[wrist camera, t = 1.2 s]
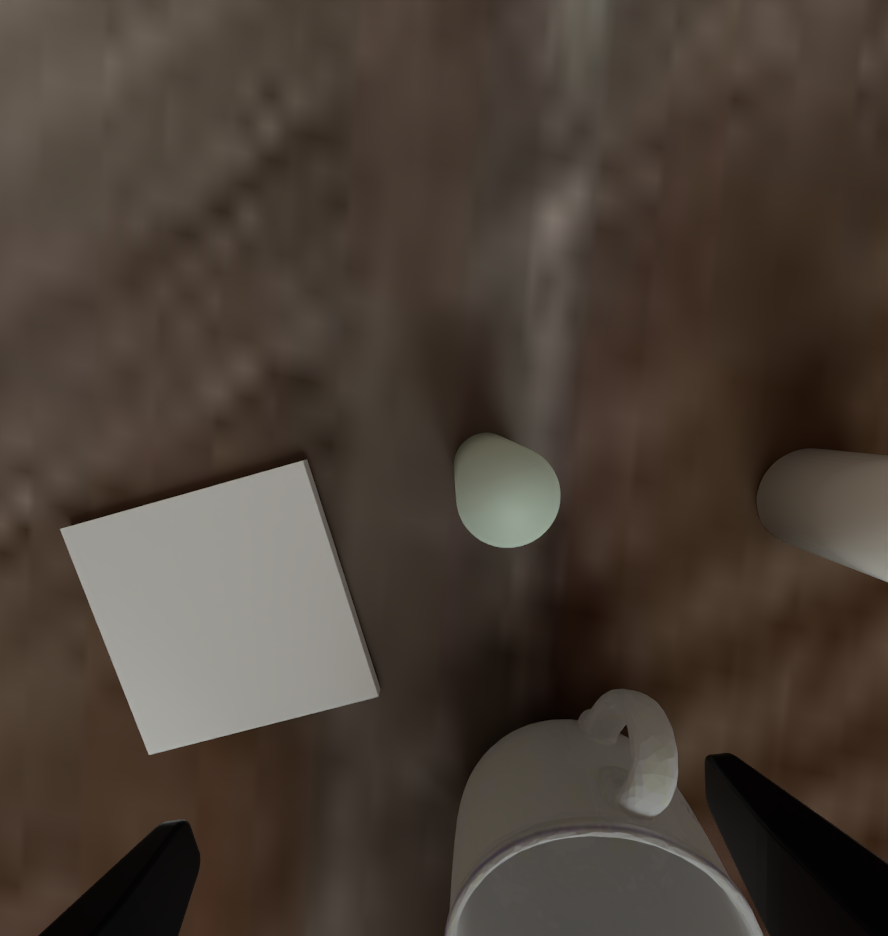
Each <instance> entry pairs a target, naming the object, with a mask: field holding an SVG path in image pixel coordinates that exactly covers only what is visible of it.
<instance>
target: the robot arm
mask: <svg viewBox="0 0 888 936" xmlns="http://www.w3.org/2000/svg"><path fill="white" fill-rule="evenodd" d="M705 794H706V800H707V803H708V806H709V809H710V811H711V814H712V816H713V818H714V820H715V822H716V824H717V826H718V828H719V831H720V833H721V835H722V837H723V839H724V841H725V843H726V845H727V848H728V850H729V852H730V854H731V856H732V858H733V860H734V862H735V865H736V867H737V869H738V871H739V873H740V875H741V877H742V879H743V882H744V884H745V886H746V888H747V890H748V892H749V894H750V896H751V899H752V901H753V903H754V905H755V907H756V909H757V911H758V913H759V915H760V917H761V919H762V921H763V923H764V925H765V928H766V929H767V931H768V933H769V935H770V936H888V863H887V862H885V861H884V860H882V859H881V858H880V857H878V856H877V855H875V854H874V853H873V852H871V851H870V850H868V849H867V848H865V847H864V846H863V845H861V844H860V843H858V842H857V841H856V840H854V839H853V838H851V837H850V836H848V835H847V834H846V833H844V832H843V831H841V830H840V829H839V828H837V827H836V826H834V825H833V824H831V823H830V822H829V821H827V820H826V819H824V818H823V817H822V816H820V815H819V814H817V813H816V812H814V811H813V810H812V809H810V808H809V807H807V806H806V805H805V804H803V803H802V802H800V801H799V800H797V799H796V798H795V797H793V796H792V795H790V794H789V793H788V792H786V791H785V790H783V789H782V788H780V787H779V786H778V785H776V784H775V783H773V782H772V781H771V780H769V779H768V778H766V777H765V776H763V775H762V774H761V773H759V772H758V771H756V770H755V769H753V768H752V767H751V766H749V765H748V764H746V763H745V762H744V761H742V760H741V759H739V758H738V757H736V756H735V755H733V754H730V753H722V754H714V755H708V756H707V757H706V758H705ZM199 867H200V853H199V849H198V847H197V844H196V841H195V838H194V835H193V832H192V829H191V826H190V824H189V822H188V821H186V820H183V819H182V820H174V821H167V822H163V823H161V824H160V825H158V826H157V827H156V828H155V829H154V830H153V831H152V832H150V833H149V834H148V835H147V836H146V837H145V838H144V839H143V840H142V841H141V842H140V843H138V844H137V845H136V846H135V847H134V848H133V849H132V850H131V851H130V852H129V853H128V854H127V855H125V856H124V857H123V858H122V859H121V860H120V861H119V862H118V863H117V864H116V865H115V866H113V867H112V868H111V869H110V870H109V871H108V872H107V873H106V874H105V875H104V876H103V877H102V878H100V879H99V880H98V881H97V882H96V883H95V884H94V885H93V886H92V887H91V888H90V889H88V890H87V891H86V892H85V893H84V894H83V895H82V896H81V897H80V898H79V899H78V900H77V901H75V902H74V903H73V904H72V905H71V906H70V907H69V908H68V909H67V910H66V911H65V912H63V913H62V914H61V915H60V916H59V917H58V918H57V919H56V920H55V921H54V922H53V923H52V924H50V925H49V926H48V927H47V928H46V929H45V930H44V931H43V932H42V933H41V934H40V935H39V936H178V934H179V931H180V928H181V925H182V922H183V919H184V916H185V913H186V910H187V906H188V903H189V900H190V897H191V894H192V891H193V888H194V885H195V882H196V878H197V875H198V872H199Z"/></svg>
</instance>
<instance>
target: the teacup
mask: <svg viewBox="0 0 888 936" xmlns="http://www.w3.org/2000/svg"><path fill="white" fill-rule="evenodd" d="M625 725H627V728H628V735H629V738H627V737H625V736H624V735H622V734H620V732H621V730H622V729H623V728H624V727H625ZM677 777H678V752H677V747H676V743H675V738H674V734H673V729H672V727H671V725H670V723H669V720H668V718H667V716H666V714H665V712H664V711H663V709H662V708H661V707H660V706H659V704H658V703H657V702H656V701H655V700H653V699H652V698H650V697H649V696H647V695H646V694H643V693H641V692H638V691H634V690H627V689H614V690H610V691H608V692H607V693H605V694H603V695H602V696H601V697H600V698H599V699H598V700H597V701H596V703H595V704H594V705H593V707H592V708H591V709H588V710H585V711H584V712H583V713H582V714H581V715H580V717H579V719H578V720H573V719H560V720H547V721H542V722H537V723H533V724H529V725H526V726H524V727H522V728H519V729H517V730H515V731H513V732H511V733H509V734H508V735H506V736H505V737H503V738H502V739H500V740H499V741H498V742H497V743H496V744H494V745H493V746H492V747H491V748H490V749H489V750H488V751H487V752H486V753H485V754H484V755H483V757H482V758H481V759H480V761H479V762H478V763H477V765H476V766H475V768H474V770H473V772H472V773H471V775H470V777H469V779H468V782H467V784H466V786H465V789H464V793H463V796H462V799H461V802H460V807H459V812H458V817H457V826H456V834H455V842H454V854H453V866H452V879H451V896H450V911H449V914H448V918H447V923H446V927H445V935H444V936H763V934H762V931H761V929H760V927H759V925H758V923H757V920H756V918H755V916H754V914H753V911H752V910H751V908H750V906H749V904H748V902H747V901H746V899H745V898H744V896H743V895H742V893H741V892H740V890H739V889H738V888H737V887H736V885H735V884H734V883H733V882H732V881H731V879H730V878H729V876H728V874H727V873H726V871H725V869H724V867H723V865H722V863H721V861H720V859H719V858H718V856H717V854H716V852H715V850H714V848H713V847H712V845H711V843H710V841H709V839H708V838H707V836H706V834H705V832H704V830H703V829H702V827H701V825H700V824H699V822H698V820H697V818H696V817H695V815H694V813H693V812H692V810H691V808H690V807H689V805H688V803H687V802H686V800H685V799H684V797H683V795H682V794H681V792H680V791H679V789H678V788H677V786H676V784H677Z"/></svg>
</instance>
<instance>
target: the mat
mask: <svg viewBox="0 0 888 936" xmlns="http://www.w3.org/2000/svg"><path fill="white" fill-rule="evenodd" d="M60 531H61V533H62V536H63V538H64V541H65V543H66V546H67V548H68V551H69V553H70V556H71V558H72V561H73V564H74V566H75V569H76V571H77V574H78V576H79V579H80V581H81V584H82V586H83V589H84V591H85V594H86V597H87V599H88V602H89V604H90V607H91V609H92V612H93V614H94V617H95V619H96V622H97V624H98V627H99V630H100V632H101V635H102V637H103V640H104V642H105V645H106V647H107V650H108V652H109V655H110V657H111V660H112V663H113V665H114V668H115V670H116V673H117V675H118V678H119V680H120V683H121V685H122V688H123V690H124V693H125V696H126V698H127V701H128V703H129V706H130V708H131V711H132V713H133V716H134V718H135V721H136V723H137V726H138V728H139V731H140V734H141V736H142V739H143V741H144V744H145V746H146V749H147V751H148V754H149V755H151V754H155V753H159V752H163V751H167V750H171V749H174V748H178V747H182V746H186V745H190V744H194V743H198V742H202V741H206V740H210V739H214V738H218V737H222V736H226V735H230V734H234V733H238V732H242V731H246V730H249V729H253V728H257V727H261V726H265V725H269V724H273V723H277V722H281V721H285V720H289V719H293V718H297V717H301V716H305V715H309V714H313V713H317V712H320V711H324V710H328V709H332V708H336V707H340V706H344V705H348V704H352V703H356V702H360V701H364V700H368V699H372V698H376V697H379V693H380V686H379V683H378V680H377V677H376V674H375V670H374V667H373V664H372V661H371V658H370V655H369V652H368V649H367V645H366V642H365V639H364V636H363V633H362V630H361V627H360V623H359V620H358V617H357V614H356V611H355V608H354V605H353V602H352V598H351V595H350V592H349V589H348V586H347V583H346V580H345V576H344V573H343V570H342V567H341V564H340V561H339V558H338V555H337V551H336V548H335V545H334V542H333V539H332V536H331V533H330V529H329V526H328V523H327V520H326V517H325V514H324V511H323V508H322V504H321V501H320V498H319V495H318V492H317V489H316V486H315V483H314V479H313V476H312V473H311V470H310V467H309V464H308V461H307V459H306V460H303V461H299V462H296V463H292V464H289V465H285V466H282V467H278V468H275V469H271V470H267V471H264V472H260V473H257V474H253V475H250V476H246V477H243V478H239V479H236V480H232V481H228V482H225V483H221V484H218V485H214V486H211V487H207V488H204V489H200V490H197V491H193V492H189V493H186V494H182V495H179V496H175V497H172V498H168V499H165V500H161V501H158V502H154V503H150V504H147V505H143V506H140V507H136V508H133V509H129V510H126V511H122V512H119V513H115V514H111V515H108V516H104V517H101V518H97V519H94V520H90V521H87V522H83V523H79V524H76V525H72V526H69V527H66V528H62V529H60Z"/></svg>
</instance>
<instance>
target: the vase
mask: <svg viewBox="0 0 888 936" xmlns="http://www.w3.org/2000/svg"><path fill="white" fill-rule="evenodd" d="M756 504H757V511H758V515H759V518H760V520H761V522H762V524H763V525H764V527H765V528H766V529H767V531H768V532H769V533H770V534H772V535H773V536H774V537H776V538H777V539H779V540H781V541H783V542H785V543H788V544H790V545H793V546H796V547H798V548H801V549H803V550H806V551H808V552H811V553H814V554H816V555H819V556H821V557H824V558H826V559H829V560H832V561H834V562H837V563H839V564H842V565H845V566H847V567H850V568H852V569H855V570H857V571H860V572H863V573H865V574H868V575H870V576H873V577H875V578H878V579H881V580H883V581H886V582H888V456H887V455H876V454H866V453H856V452H846V451H836V450H826V449H814V448H808V449H801V450H797V451H794V452H791V453H789V454H787V455H785V456H783V457H781V458H780V459H778V460H777V461H776V462H775V463H774V464H773V465H772V466H771V467H770V468H769V469H768V470H767V472H766V473H765V475H764V476H763V478H762V480H761V482H760V485H759V488H758V491H757V502H756Z"/></svg>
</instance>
